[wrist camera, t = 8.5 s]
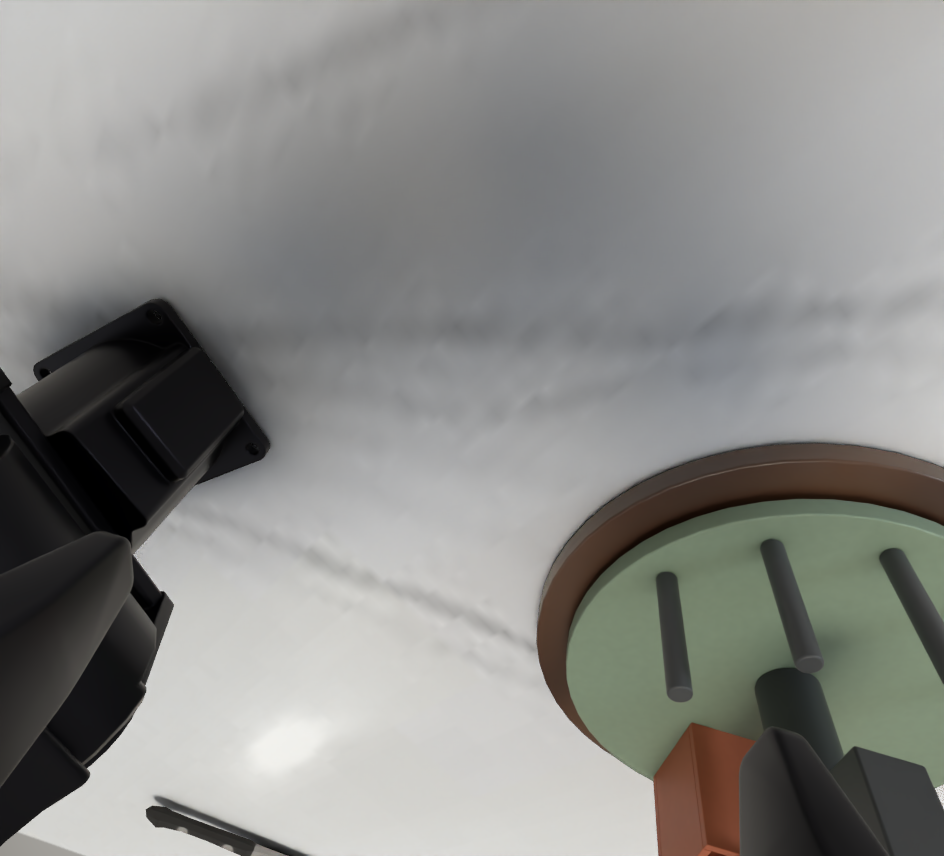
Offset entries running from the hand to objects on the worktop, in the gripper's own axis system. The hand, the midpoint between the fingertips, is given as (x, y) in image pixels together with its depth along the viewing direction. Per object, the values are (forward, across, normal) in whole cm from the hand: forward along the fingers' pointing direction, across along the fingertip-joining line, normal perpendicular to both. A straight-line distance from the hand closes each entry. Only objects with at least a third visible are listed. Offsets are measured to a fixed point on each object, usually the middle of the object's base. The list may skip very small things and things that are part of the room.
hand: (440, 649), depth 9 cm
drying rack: (+12, -12, +10) cm, 20 cm away
